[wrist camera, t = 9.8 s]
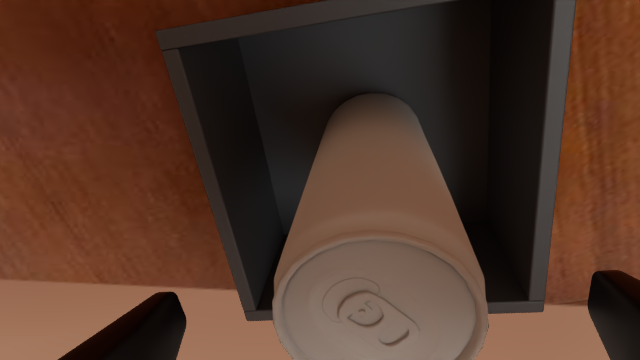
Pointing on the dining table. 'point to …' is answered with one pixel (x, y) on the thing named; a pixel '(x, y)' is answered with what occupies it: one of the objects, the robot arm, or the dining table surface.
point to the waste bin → (393, 79)
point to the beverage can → (378, 248)
